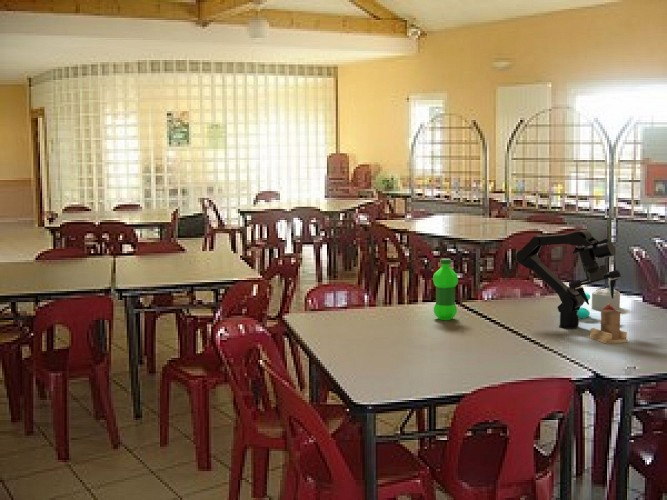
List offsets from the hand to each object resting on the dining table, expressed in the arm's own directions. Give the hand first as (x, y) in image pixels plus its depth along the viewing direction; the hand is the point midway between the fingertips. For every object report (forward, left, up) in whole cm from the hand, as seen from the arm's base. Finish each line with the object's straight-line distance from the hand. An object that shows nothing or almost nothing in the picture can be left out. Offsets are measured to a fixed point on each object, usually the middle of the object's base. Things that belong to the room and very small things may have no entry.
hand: (600, 301), depth 303 cm
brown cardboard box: (+5, -13, -11) cm, 18 cm away
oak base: (+4, -13, -12) cm, 18 cm away
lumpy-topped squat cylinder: (-1, +47, -12) cm, 49 cm away
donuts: (-11, +25, -12) cm, 30 cm away
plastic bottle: (-61, +1, -12) cm, 62 cm away
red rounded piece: (+2, +16, -12) cm, 20 cm away
